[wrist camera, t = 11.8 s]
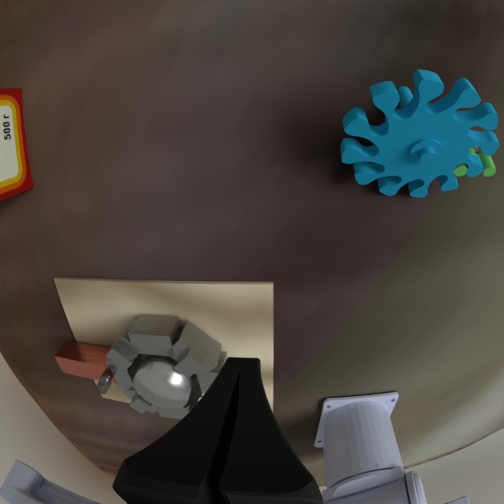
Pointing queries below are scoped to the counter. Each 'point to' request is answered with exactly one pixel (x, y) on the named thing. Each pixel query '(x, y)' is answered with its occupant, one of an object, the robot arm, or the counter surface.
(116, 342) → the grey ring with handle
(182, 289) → the mounting board
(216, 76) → the counter surface
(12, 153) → the baking soda box
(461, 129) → the gear
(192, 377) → the grey metal ball
